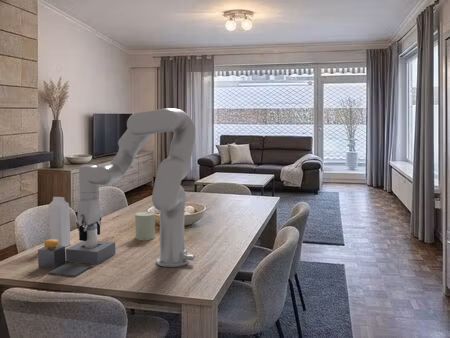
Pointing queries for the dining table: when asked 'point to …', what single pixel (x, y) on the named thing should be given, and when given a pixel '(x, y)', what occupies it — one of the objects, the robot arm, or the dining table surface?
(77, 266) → the mat
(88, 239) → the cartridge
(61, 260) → the dark grey cube
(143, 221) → the can
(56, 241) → the plunger
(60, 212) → the milk
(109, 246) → the block
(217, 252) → the dining table surface
